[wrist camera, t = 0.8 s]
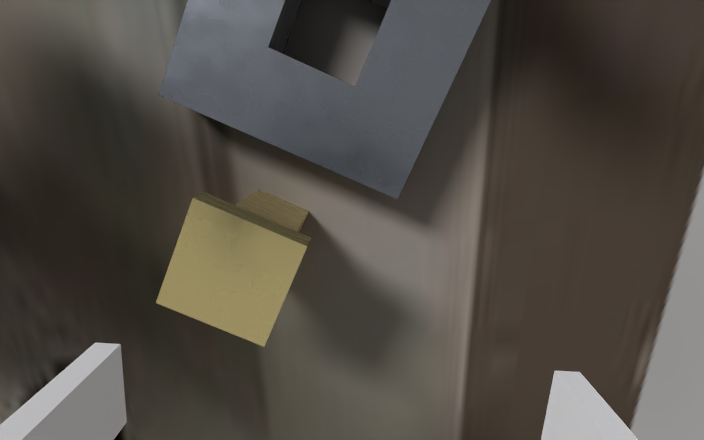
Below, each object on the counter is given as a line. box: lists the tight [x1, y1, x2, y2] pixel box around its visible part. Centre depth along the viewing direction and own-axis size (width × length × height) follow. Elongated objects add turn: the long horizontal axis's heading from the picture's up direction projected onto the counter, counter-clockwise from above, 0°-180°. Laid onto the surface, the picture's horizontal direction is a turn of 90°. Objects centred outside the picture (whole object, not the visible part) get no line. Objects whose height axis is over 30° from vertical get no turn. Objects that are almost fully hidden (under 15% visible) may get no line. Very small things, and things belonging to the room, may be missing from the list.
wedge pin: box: [156, 190, 311, 347], centre depth 27 cm, size 6×6×11 cm
